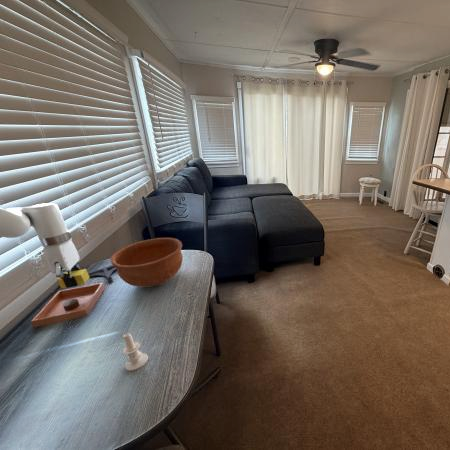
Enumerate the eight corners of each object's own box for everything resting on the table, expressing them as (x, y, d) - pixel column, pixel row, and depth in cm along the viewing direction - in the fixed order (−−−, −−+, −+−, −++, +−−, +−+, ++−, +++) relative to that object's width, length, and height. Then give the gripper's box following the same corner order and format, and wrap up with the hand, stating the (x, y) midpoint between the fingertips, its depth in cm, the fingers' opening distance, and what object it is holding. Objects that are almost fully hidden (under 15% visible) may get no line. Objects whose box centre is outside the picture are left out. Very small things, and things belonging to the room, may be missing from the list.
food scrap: (62, 312, 84) (60, 307, 83) (68, 305, 87) (66, 300, 87) (76, 309, 85) (74, 304, 84) (81, 302, 89) (79, 297, 88)
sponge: (61, 288, 87) (56, 279, 85) (67, 281, 91) (63, 273, 89) (84, 284, 89) (81, 274, 88) (89, 277, 93) (86, 268, 92)
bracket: (89, 291, 96) (87, 285, 95) (85, 276, 106) (83, 271, 105) (131, 276, 105) (129, 271, 104) (123, 264, 115) (122, 259, 114)
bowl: (185, 261, 117) (179, 233, 112) (192, 287, 97) (184, 254, 91) (124, 276, 106) (114, 245, 100) (117, 309, 85) (104, 273, 80)
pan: (34, 328, 77) (30, 321, 76) (61, 297, 92) (58, 290, 91) (88, 316, 82) (85, 309, 81) (105, 288, 97) (103, 282, 96)
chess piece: (130, 356, 67) (119, 327, 63) (150, 352, 68) (141, 324, 64) (121, 373, 62) (109, 343, 58) (143, 369, 63) (133, 339, 59)
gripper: (55, 232, 89) (73, 273, 96) (26, 251, 75) (50, 298, 81) (79, 228, 92) (96, 269, 98) (57, 246, 77) (78, 293, 84)
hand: (75, 282), depth 90 cm, fingers closed on sponge, 4 cm apart
